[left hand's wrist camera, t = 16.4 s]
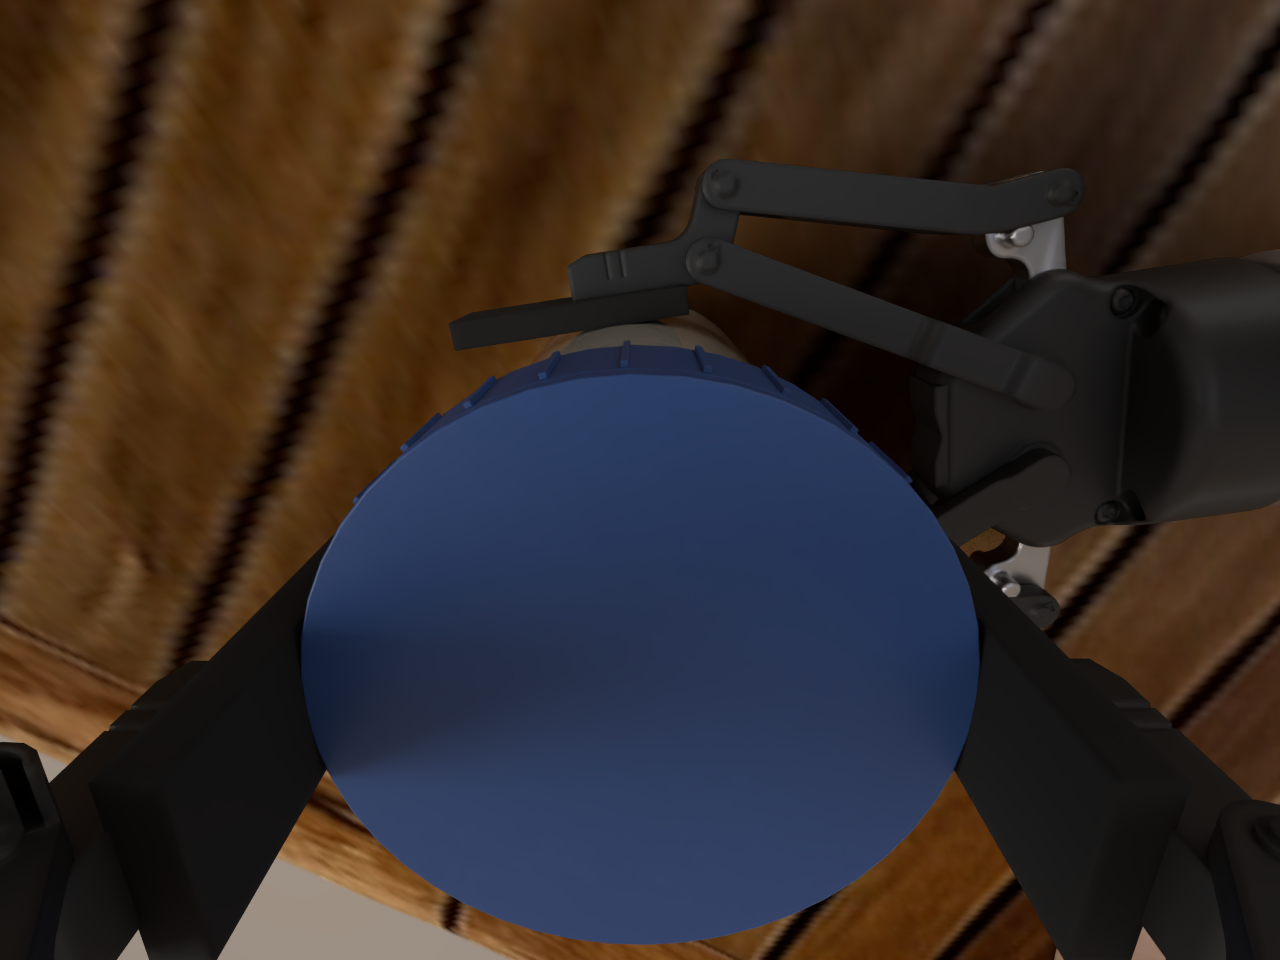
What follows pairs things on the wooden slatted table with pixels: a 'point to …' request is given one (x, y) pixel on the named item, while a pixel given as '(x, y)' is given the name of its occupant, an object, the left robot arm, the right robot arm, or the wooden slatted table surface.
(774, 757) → the lid
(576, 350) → the jar
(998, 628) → the left robot arm
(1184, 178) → the wooden slatted table surface
